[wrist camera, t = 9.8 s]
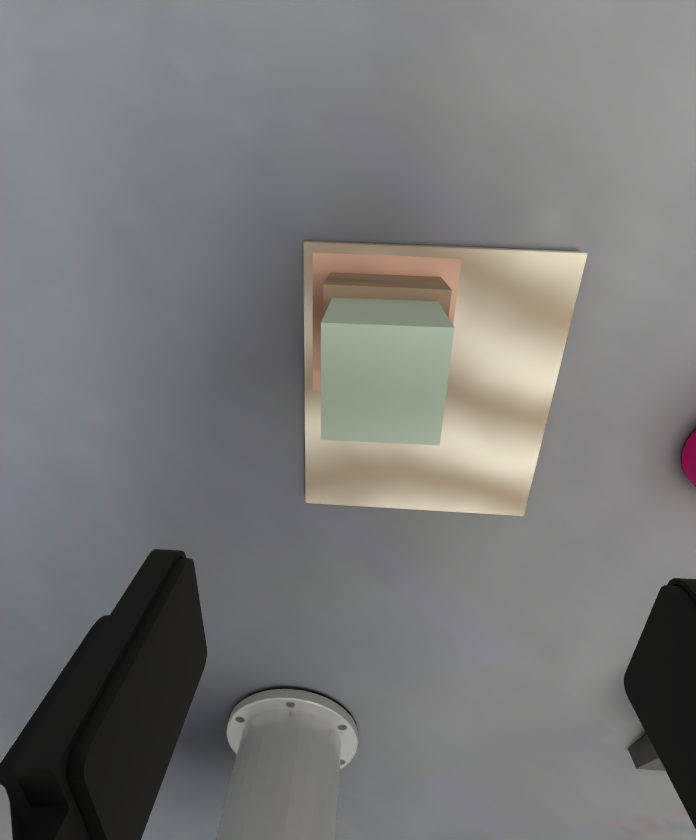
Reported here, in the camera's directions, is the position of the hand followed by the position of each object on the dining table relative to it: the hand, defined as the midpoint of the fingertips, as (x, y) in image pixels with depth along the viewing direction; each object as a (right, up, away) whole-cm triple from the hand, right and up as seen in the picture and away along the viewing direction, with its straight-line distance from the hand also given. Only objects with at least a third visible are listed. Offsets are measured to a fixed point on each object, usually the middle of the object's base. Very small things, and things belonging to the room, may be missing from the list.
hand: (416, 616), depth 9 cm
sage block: (0, +7, +13) cm, 15 cm away
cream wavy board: (+4, +6, +20) cm, 21 cm away
